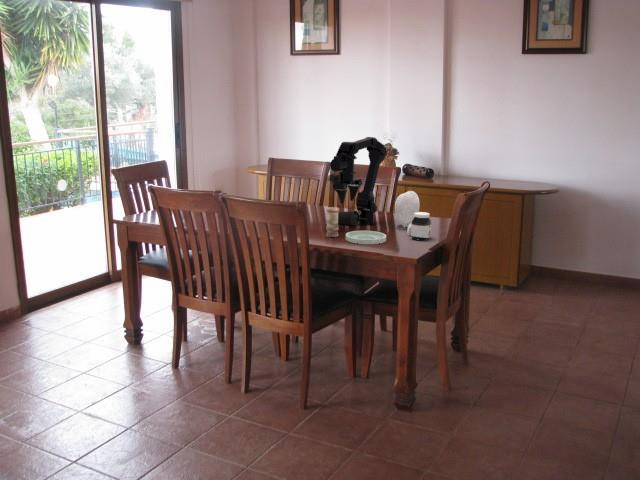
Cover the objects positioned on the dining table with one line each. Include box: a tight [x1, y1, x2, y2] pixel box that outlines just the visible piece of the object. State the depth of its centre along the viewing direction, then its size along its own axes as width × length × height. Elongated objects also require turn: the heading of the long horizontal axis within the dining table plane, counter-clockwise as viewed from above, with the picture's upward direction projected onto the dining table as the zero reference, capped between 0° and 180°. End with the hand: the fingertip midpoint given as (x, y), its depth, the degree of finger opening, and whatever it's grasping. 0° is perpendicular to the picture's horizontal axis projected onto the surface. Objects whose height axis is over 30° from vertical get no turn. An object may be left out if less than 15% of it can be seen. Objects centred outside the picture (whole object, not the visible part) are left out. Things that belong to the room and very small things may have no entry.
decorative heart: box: [394, 190, 421, 230], centre depth 342 cm, size 18×11×17 cm, turn 153°
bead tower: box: [325, 206, 340, 238], centre depth 321 cm, size 6×6×13 cm
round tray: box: [345, 230, 387, 245], centre depth 317 cm, size 18×18×2 cm
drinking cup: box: [338, 210, 367, 227], centre depth 346 cm, size 8×8×20 cm
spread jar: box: [406, 211, 432, 241], centre depth 322 cm, size 12×11×12 cm
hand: (346, 202), depth 334 cm, fingers open, 9 cm apart
